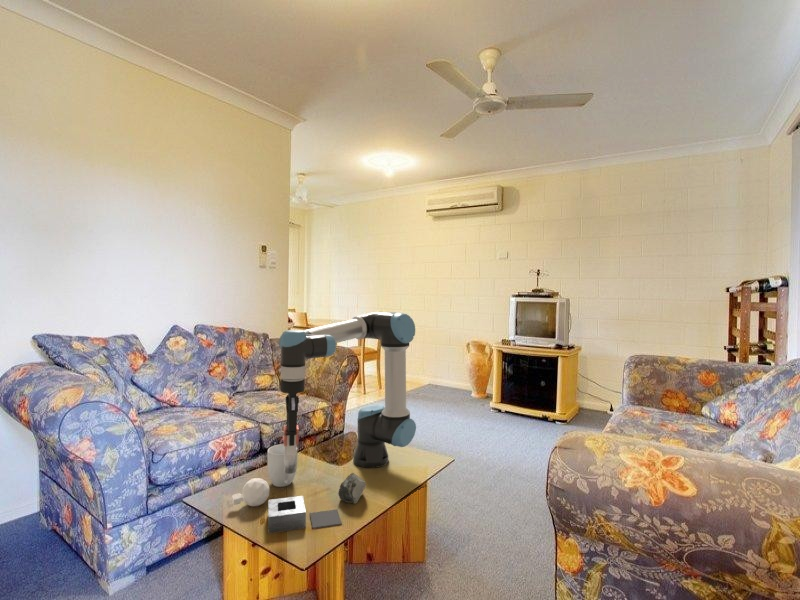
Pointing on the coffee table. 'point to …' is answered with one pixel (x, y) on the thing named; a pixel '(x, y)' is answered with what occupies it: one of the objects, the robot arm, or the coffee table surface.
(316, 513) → the mat
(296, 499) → the block
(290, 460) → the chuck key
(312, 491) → the coffee table surface
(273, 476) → the mug
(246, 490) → the perfume bottle
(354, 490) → the stone
